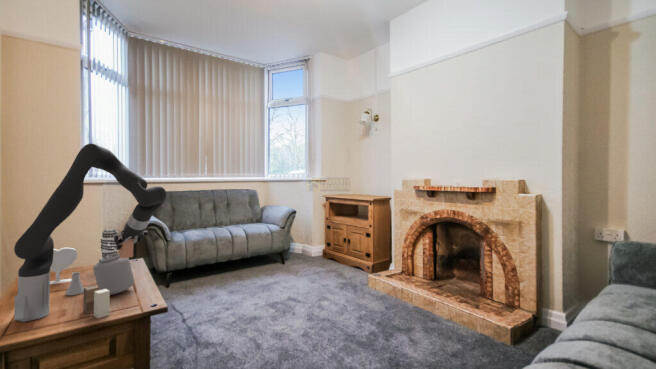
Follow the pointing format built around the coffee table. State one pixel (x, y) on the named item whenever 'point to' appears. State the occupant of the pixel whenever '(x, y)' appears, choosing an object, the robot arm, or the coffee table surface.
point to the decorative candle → (108, 242)
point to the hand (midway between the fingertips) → (124, 247)
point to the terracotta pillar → (126, 249)
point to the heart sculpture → (62, 262)
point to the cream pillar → (101, 303)
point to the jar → (113, 273)
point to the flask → (75, 285)
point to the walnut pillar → (89, 299)
